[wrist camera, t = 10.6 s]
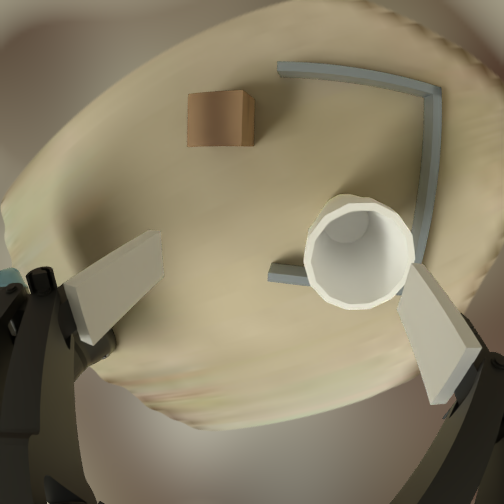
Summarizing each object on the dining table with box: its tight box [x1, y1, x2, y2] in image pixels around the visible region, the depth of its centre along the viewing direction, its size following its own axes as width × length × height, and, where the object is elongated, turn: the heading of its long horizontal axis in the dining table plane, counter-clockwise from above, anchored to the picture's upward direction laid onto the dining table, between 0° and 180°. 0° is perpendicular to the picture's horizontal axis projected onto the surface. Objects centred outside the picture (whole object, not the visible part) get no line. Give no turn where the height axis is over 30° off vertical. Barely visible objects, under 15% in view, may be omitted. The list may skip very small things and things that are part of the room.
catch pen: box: [268, 61, 442, 295], centre depth 29 cm, size 19×26×3 cm
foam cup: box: [303, 194, 415, 310], centre depth 27 cm, size 10×9×13 cm
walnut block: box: [187, 90, 255, 147], centre depth 29 cm, size 6×6×6 cm
